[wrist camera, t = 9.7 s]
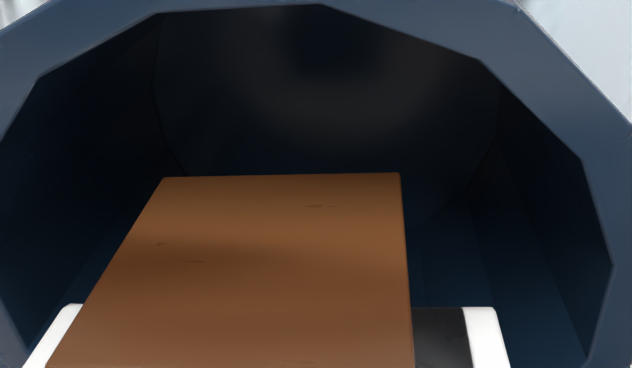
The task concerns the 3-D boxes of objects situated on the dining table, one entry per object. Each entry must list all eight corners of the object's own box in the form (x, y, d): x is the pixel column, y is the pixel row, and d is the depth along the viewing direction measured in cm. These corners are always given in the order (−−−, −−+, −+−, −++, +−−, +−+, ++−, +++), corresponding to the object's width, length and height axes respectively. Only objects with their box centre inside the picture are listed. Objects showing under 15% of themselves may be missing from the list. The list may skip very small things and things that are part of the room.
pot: (575, 252, 20) (708, 520, 12) (116, 254, 22) (-27, 484, 14) (662, -141, 14) (1076, -118, 6) (-2, -86, 16) (-391, -12, 8)
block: (399, 342, 12) (411, 567, 8) (206, 339, 12) (135, 550, 9) (400, 170, 10) (416, 376, 6) (162, 175, 10) (40, 367, 6)
